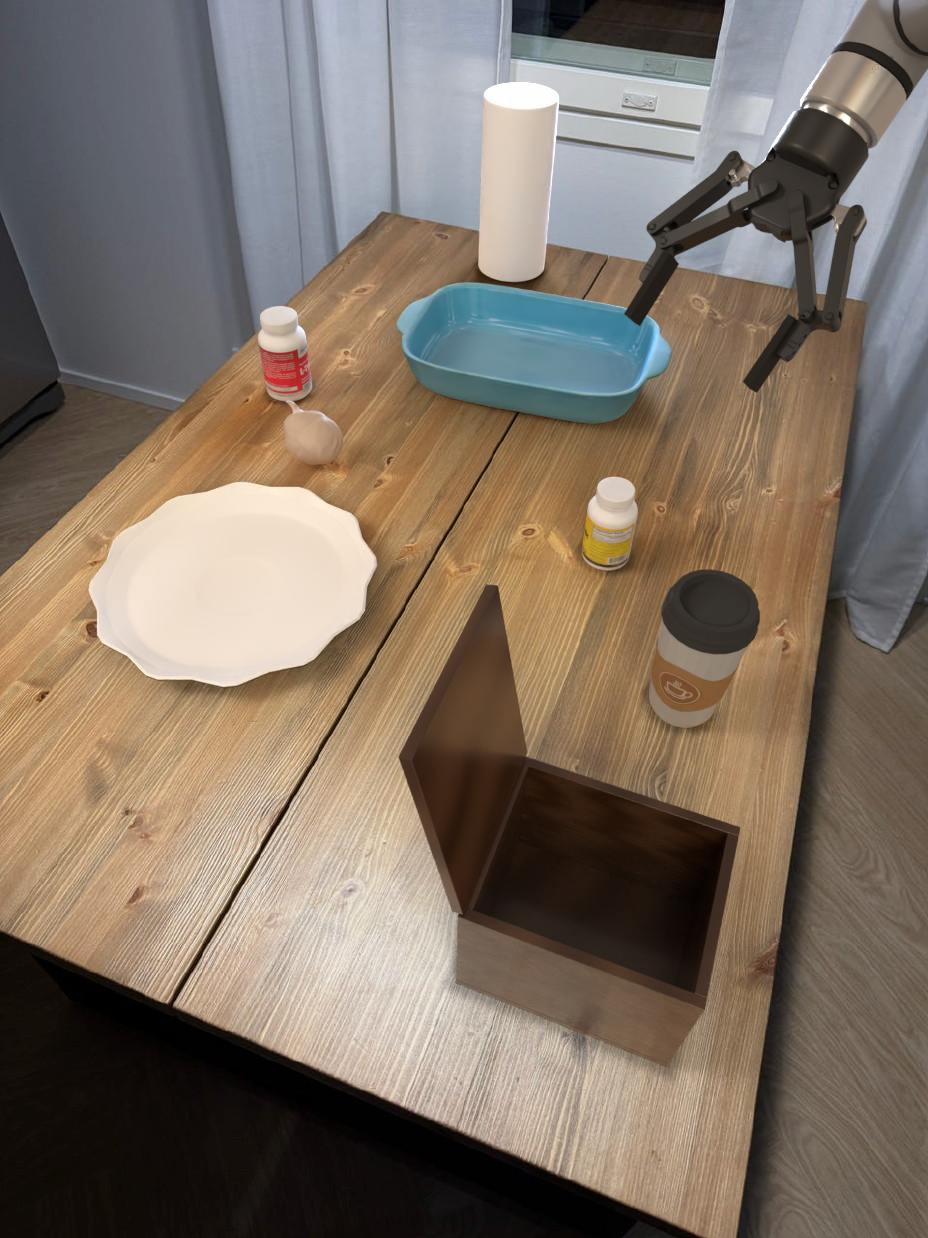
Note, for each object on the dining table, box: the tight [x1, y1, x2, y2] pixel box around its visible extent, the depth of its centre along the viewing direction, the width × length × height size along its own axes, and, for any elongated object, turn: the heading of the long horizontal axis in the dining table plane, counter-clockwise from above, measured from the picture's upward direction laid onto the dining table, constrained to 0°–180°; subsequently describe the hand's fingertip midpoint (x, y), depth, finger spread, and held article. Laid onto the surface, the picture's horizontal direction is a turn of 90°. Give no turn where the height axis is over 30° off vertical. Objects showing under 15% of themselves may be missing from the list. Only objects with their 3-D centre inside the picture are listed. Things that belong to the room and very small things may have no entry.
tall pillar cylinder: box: [477, 81, 560, 283], centre depth 135 cm, size 11×11×25 cm
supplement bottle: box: [581, 476, 639, 572], centre depth 97 cm, size 5×5×10 cm
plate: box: [88, 481, 378, 689], centre depth 95 cm, size 29×29×2 cm
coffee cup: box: [648, 568, 761, 729], centre depth 81 cm, size 8×8×15 cm
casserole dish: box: [396, 282, 672, 425], centre depth 120 cm, size 37×22×7 cm, turn 72°
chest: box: [455, 755, 741, 1068], centre depth 67 cm, size 17×14×13 cm
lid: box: [397, 583, 528, 915], centre depth 57 cm, size 18×14×1 cm
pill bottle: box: [257, 305, 313, 402], centre depth 116 cm, size 6×6×11 cm
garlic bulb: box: [282, 400, 344, 466], centre depth 108 cm, size 7×6×8 cm
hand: (688, 352), depth 82 cm, fingers open, 13 cm apart
